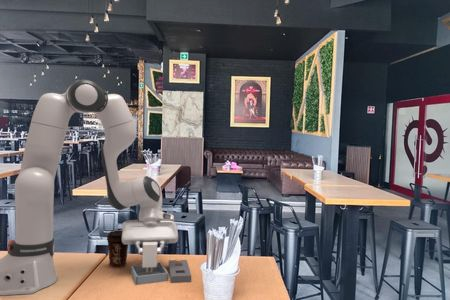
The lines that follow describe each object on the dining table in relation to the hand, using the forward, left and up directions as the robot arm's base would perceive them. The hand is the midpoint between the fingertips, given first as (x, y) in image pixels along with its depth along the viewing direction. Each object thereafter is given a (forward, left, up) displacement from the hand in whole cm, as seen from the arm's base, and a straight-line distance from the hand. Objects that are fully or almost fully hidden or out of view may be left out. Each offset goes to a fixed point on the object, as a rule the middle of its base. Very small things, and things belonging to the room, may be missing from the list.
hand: (149, 253), depth 125 cm
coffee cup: (-9, +16, -9) cm, 20 cm away
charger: (0, +1, -7) cm, 7 cm away
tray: (0, +1, -9) cm, 9 cm away
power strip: (+11, 0, -9) cm, 14 cm away
